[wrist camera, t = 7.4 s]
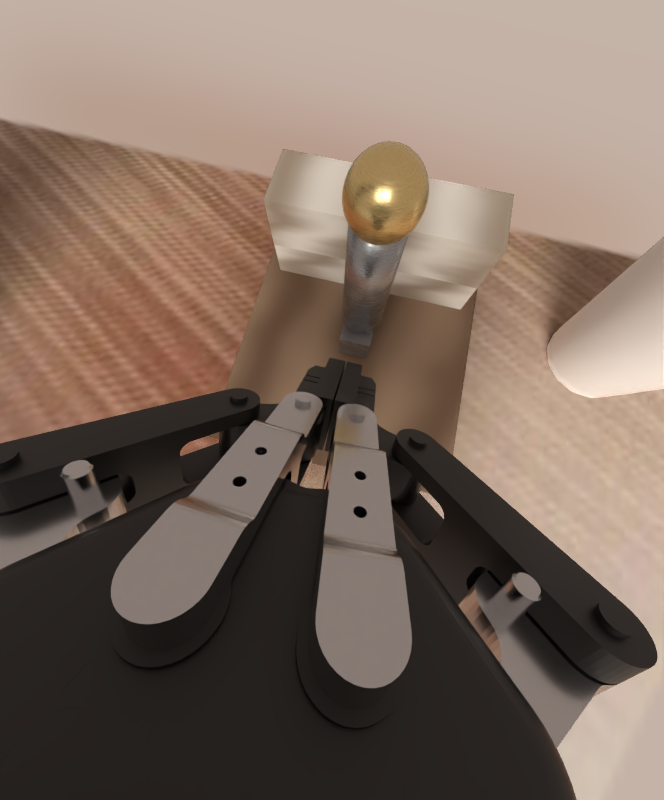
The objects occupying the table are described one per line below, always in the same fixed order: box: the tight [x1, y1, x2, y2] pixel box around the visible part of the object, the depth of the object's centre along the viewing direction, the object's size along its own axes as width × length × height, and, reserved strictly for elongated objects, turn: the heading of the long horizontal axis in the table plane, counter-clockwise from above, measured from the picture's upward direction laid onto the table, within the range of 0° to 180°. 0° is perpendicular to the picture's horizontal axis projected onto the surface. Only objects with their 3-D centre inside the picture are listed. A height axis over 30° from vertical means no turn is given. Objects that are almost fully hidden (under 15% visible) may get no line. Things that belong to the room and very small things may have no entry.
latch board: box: [209, 149, 514, 493], centre depth 19 cm, size 16×18×8 cm
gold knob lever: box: [339, 141, 429, 358], centre depth 16 cm, size 3×9×12 cm, turn 166°
